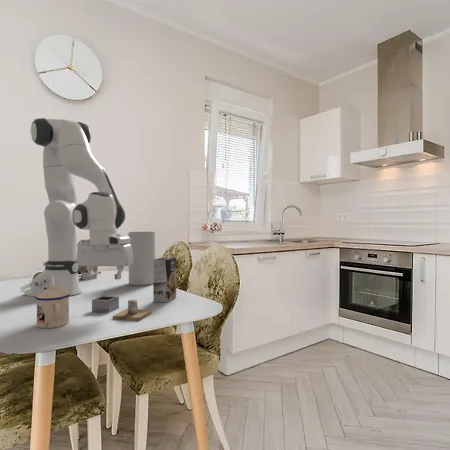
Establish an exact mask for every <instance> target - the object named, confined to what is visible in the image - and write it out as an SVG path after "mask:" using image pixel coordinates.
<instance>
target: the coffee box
mask: <svg viewBox="0 0 450 450" xmlns="http://www.w3.org/2000/svg"><path fill="white" fill-rule="evenodd" d="M152 285H153V286H152V287H153V290H152V291H153V295H152V296H153V300H152V301H153V302H160V303H169V302H171V301H172V300H174V299H175V298H176V297H177V257H174V256H173V257H172V256H171V257H170V256H169V257H167V256H166V257H165V256H164V257H159V258H155V259H154V260H153V284H152ZM173 298H174V299H173ZM170 300H171V301H170Z"/></svg>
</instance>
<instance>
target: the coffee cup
mask: <svg viewBox="0 0 450 450" xmlns="http://www.w3.org/2000/svg"><path fill="white" fill-rule="evenodd" d="M79 269H80V277H81V279H82V280H85V281H86V280H87V281H88V280H91V279H90V274H89V272H88V271H87V266H79ZM98 269H99V266H94V268H93V271H94V273H97V274H98Z"/></svg>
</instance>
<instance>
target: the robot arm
mask: <svg viewBox="0 0 450 450" xmlns="http://www.w3.org/2000/svg"><path fill="white" fill-rule="evenodd" d="M30 135H31V139H32V141H33V143H35V144H36V145H37V146H41V147H43V151H42V168H43V177H44V178H43V179H44V180H43V181H44V186H45V187H44V188H45V191H46V194H47V199H48V204H47V205H46V206H45V209H44V212H43V216H44V221H45V222H44V223H45V224H44V225H45V231H46V237H47V251H48V252H47V254H48V255H47V256H48V258H47V259H48V260H47V261H45V262H44V263H43V266H44V270H42V271H41V272H40V273H39V274H38V275H36V276H35V277H34V278H33V279H32V280H31V281H30V289H29V290H27V291H25V292H24V293H23V296H29V297H34V298H36V296H37V294H39V293H42V292H44V291H45V290H47V289H49V286H50V285H56V286H57V288H59V289H61V290H63V291H67V292H69V294H70V295H69V297H70V296H74V295H75V296H76V295H78V294H81V293H82V292H83V291H82V288H81V284H80V278H79V269H80V266H87V271H88V272H89V274H90V280H97V278H98V272H97V273H94V271H93V268H94V266H98V267H116V270H117V273H114V275H113V276H114V280H121V279H122V272H123V271H124V270H125V267H129V265H132V263H133V251H132V247H131V245H130V244H129V243H130V237H128V235H125V234H121V233H118V232H117V230H118V229H119V228H120V227H121V226H122V225H123V224H124V222H125V220H126V212H125V210H124V207H123V206H122V204H121V203H120V201H119V199H118V197H117V194H116V192H115V190H114V187H113V185H112V183H111V181H110V178H109V175H108V174H107V172H106V169H105V168H104V167H103V165H101V164H100V163H99V161H97V160H96V159H95V157H94V155H93V153H92V152H91V151H92V150H91V147H90V143H91V139H92V134H91V129H90V127H89V126H88V125H87V124H86V123H84V122H81V121H74V120H69V119H56V118H52V119H51V118H45V117H42V118H41V117H40V118H36V119H34V120H33V121H32V122H31V126H30ZM74 176H76V177H79V178H80V179H84V180H86V181H88V182H90V183H92V184H93V185H94V186H95V187H96V188H97V191H94V192H90V193H88V196H87V199H86V200H84V201H83V202H82V203H79V204H78V199H77V194H76V193H77V192H76V189H75V181H74V179H75V178H74ZM76 227H77V228H78V229H80V230H85V231H88V230H89V234H88V235H89V239H88V238H87V239H80V240H79V241H78V239H77V232H76V230H77V229H76Z"/></svg>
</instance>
